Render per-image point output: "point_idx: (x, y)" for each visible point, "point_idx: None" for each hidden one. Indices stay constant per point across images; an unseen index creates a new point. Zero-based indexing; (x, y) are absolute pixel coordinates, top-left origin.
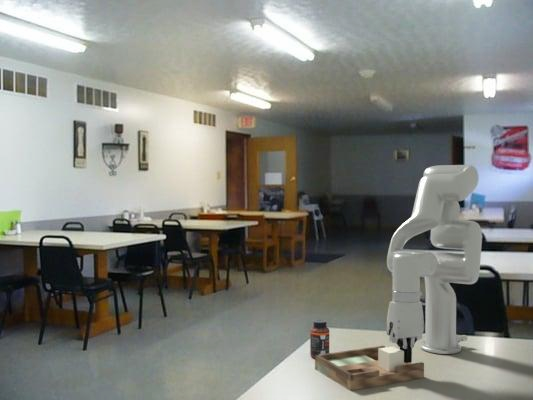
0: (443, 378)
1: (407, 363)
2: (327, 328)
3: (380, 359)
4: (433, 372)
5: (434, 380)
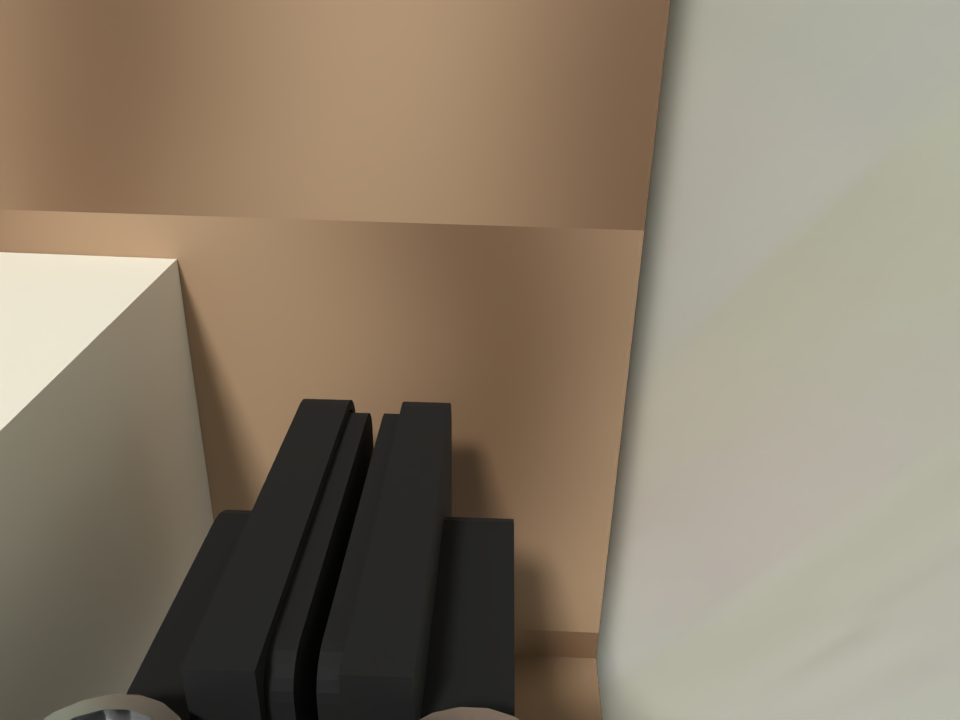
0: (801, 711)
1: (520, 379)
2: None
3: None
4: (914, 495)
5: (625, 711)
